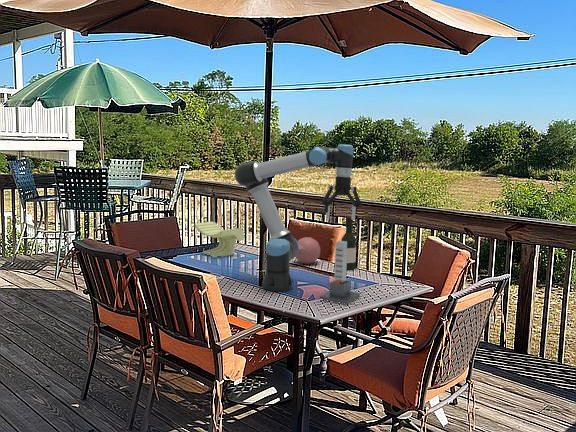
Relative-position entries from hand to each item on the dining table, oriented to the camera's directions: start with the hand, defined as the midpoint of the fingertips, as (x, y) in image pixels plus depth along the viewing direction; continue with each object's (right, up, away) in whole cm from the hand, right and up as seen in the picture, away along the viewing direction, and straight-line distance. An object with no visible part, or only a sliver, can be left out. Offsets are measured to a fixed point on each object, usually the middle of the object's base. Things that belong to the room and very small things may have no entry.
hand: (340, 219), depth 288 cm
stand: (-2, -37, -16) cm, 40 cm away
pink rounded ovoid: (-16, -26, +50) cm, 59 cm away
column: (-2, -30, -17) cm, 34 cm away
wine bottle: (+8, -28, +41) cm, 50 cm away
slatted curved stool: (-68, -22, +74) cm, 103 cm away
